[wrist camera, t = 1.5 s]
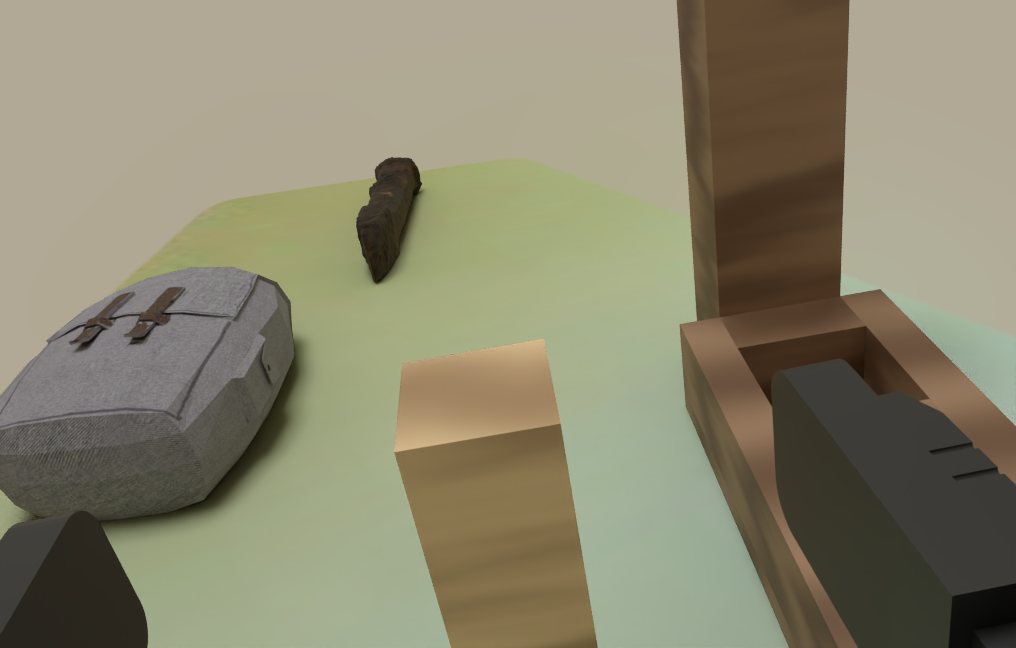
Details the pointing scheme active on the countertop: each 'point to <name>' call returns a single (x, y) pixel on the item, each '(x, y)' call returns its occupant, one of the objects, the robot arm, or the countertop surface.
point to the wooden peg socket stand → (786, 272)
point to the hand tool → (387, 213)
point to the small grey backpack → (146, 395)
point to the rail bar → (494, 498)
